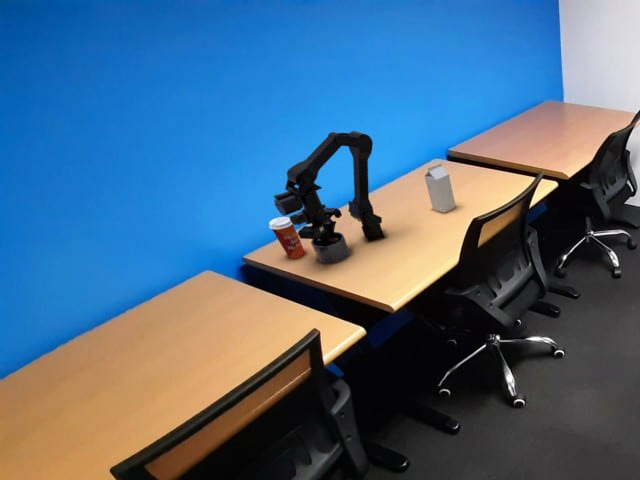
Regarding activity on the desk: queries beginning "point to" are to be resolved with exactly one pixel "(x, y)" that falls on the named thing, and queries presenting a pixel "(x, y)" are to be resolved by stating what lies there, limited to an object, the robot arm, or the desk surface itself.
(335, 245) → the dark grey round bowl
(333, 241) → the dark rectangular block
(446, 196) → the milk carton
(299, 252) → the paper cup
